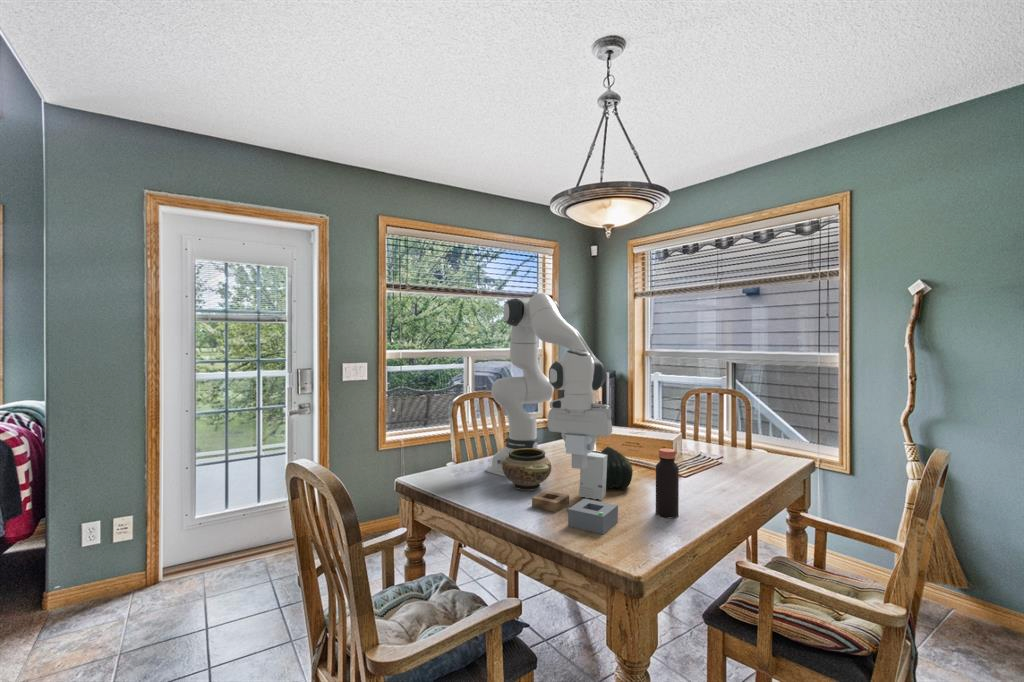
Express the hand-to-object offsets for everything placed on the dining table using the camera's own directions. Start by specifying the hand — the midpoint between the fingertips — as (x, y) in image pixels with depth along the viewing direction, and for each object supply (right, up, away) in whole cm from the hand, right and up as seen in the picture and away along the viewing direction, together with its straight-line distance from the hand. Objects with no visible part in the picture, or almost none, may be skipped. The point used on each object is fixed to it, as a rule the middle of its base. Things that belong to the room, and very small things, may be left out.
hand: (579, 448), depth 149 cm
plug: (0, -6, 0) cm, 6 cm away
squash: (+16, -21, +32) cm, 42 cm away
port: (+3, -21, -4) cm, 22 cm away
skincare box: (+8, -21, +21) cm, 31 cm away
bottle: (+28, -22, +4) cm, 35 cm away
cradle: (-8, -21, +12) cm, 25 cm away
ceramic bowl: (-15, -21, +32) cm, 41 cm away
